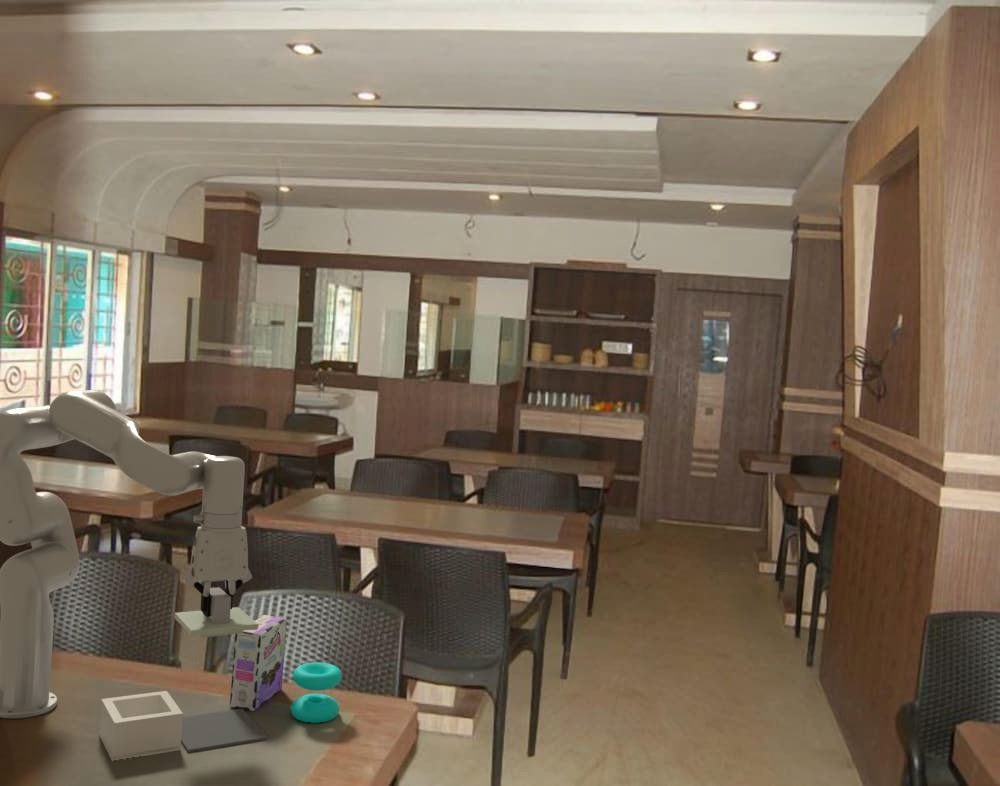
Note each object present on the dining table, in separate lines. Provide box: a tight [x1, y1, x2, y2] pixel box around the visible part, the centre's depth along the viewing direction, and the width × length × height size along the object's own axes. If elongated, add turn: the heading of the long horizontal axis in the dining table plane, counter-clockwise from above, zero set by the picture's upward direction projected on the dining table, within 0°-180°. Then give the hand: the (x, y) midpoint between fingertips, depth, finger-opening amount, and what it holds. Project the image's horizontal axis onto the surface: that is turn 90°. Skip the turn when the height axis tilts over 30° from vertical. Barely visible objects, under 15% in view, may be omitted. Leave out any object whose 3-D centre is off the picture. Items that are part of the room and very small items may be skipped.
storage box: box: [98, 690, 184, 762], centre depth 176 cm, size 12×12×7 cm
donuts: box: [290, 661, 343, 724], centre depth 195 cm, size 10×10×10 cm
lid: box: [174, 586, 258, 639], centre depth 181 cm, size 13×13×7 cm
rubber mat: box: [181, 708, 268, 753], centre depth 184 cm, size 15×15×1 cm
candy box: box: [229, 614, 288, 712], centre depth 201 cm, size 14×6×16 cm, turn 168°
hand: (216, 613), depth 182 cm, fingers closed on lid, 3 cm apart
